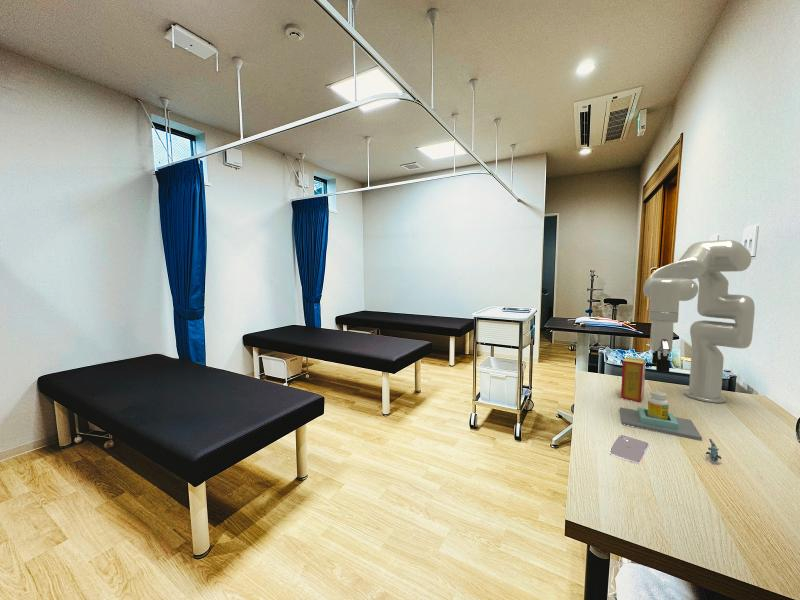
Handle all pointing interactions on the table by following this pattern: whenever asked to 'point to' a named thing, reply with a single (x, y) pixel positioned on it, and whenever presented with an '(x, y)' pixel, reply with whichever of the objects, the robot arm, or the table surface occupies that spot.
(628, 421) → the cup stand
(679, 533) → the table surface
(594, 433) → the table surface
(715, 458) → the sculpture
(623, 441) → the mobile phone
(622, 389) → the baking soda box
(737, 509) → the table surface
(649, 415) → the supplement bottle
